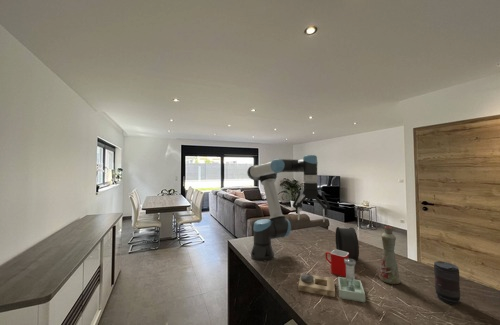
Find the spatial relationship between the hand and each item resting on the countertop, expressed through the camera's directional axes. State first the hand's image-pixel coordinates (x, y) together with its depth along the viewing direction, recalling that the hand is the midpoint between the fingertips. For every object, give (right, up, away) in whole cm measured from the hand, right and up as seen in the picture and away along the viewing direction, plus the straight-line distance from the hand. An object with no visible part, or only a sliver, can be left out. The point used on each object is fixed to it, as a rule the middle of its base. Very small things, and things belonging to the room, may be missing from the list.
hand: (311, 220), depth 116 cm
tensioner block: (-2, -28, -15) cm, 32 cm away
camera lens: (+52, -27, -26) cm, 64 cm away
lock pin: (+12, -27, -20) cm, 36 cm away
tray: (+12, -28, -20) cm, 37 cm away
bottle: (+37, -28, -10) cm, 48 cm away
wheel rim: (+27, -29, +16) cm, 43 cm away
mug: (+14, -29, 0) cm, 32 cm away
